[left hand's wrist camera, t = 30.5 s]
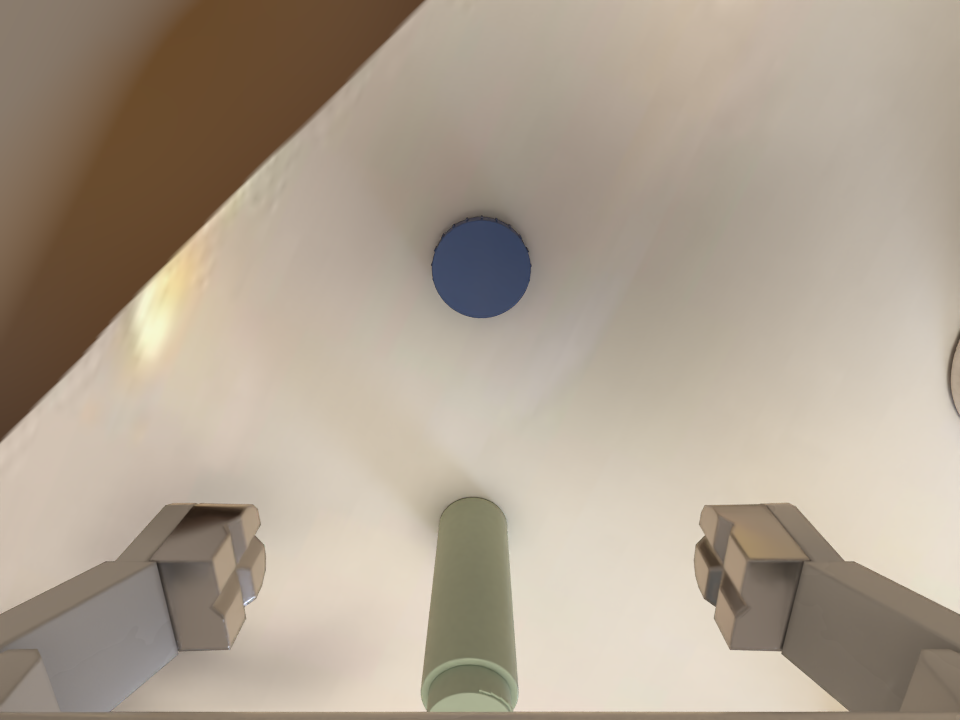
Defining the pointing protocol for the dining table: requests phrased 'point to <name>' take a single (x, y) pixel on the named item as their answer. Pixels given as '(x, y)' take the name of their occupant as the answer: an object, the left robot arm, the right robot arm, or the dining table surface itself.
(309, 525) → the dining table surface
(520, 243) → the lid
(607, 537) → the dining table surface
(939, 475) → the dining table surface
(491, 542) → the jar
